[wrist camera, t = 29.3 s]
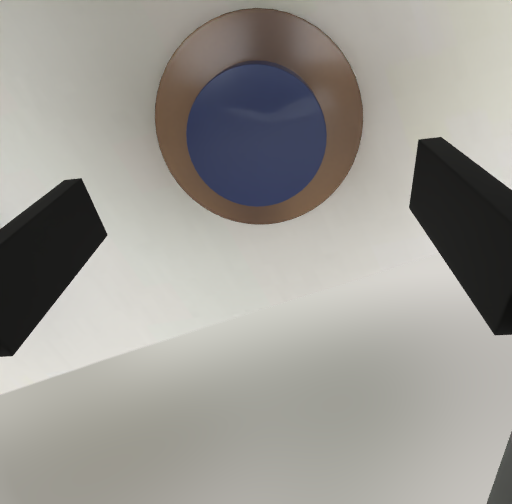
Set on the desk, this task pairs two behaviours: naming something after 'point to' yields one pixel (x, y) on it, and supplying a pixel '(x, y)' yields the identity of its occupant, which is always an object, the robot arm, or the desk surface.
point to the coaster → (272, 50)
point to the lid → (256, 133)
